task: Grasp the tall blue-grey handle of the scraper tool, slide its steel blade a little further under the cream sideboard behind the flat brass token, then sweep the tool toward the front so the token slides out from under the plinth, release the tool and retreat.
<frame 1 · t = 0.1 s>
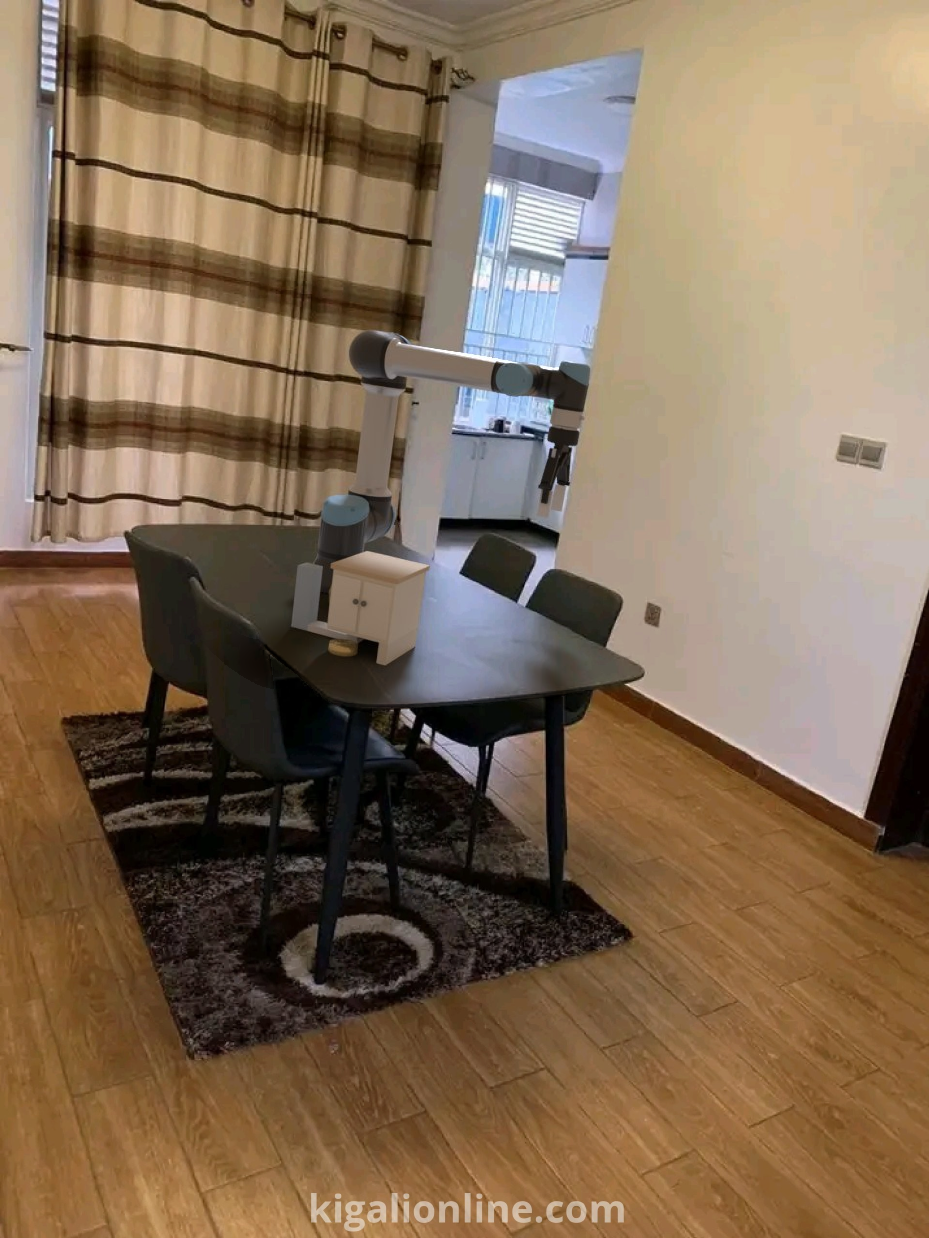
hand: (549, 513, 232), 28 cm above the table, fingers open, 13 cm apart
decorative item: (346, 611, 224), on the table
cabinet: (371, 647, 200), on the table
tool: (303, 626, 207), on the table
token: (342, 652, 195), on the table
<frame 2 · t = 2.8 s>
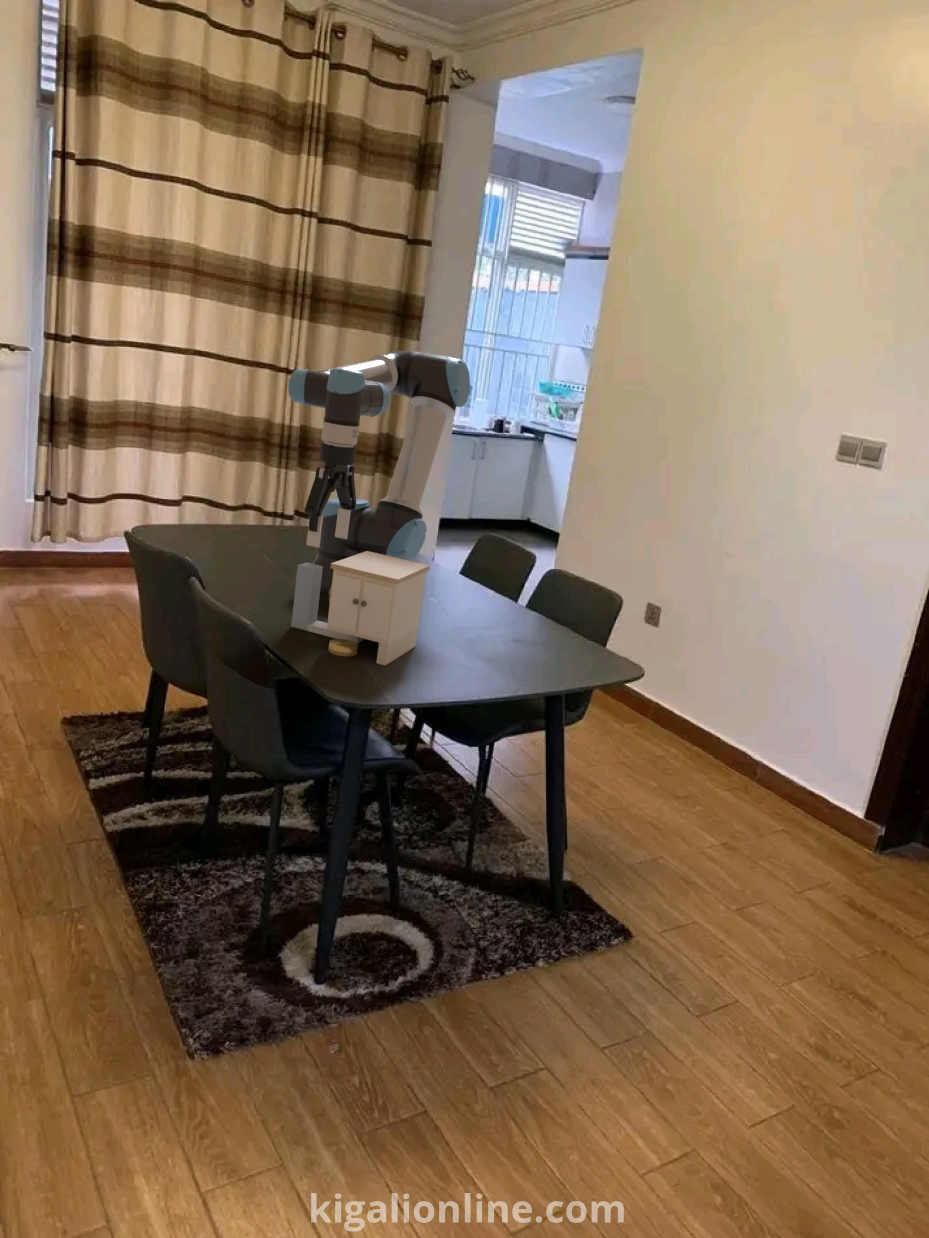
hand: (327, 542, 203), 19 cm above the table, fingers open, 13 cm apart
nothing on the table moved.
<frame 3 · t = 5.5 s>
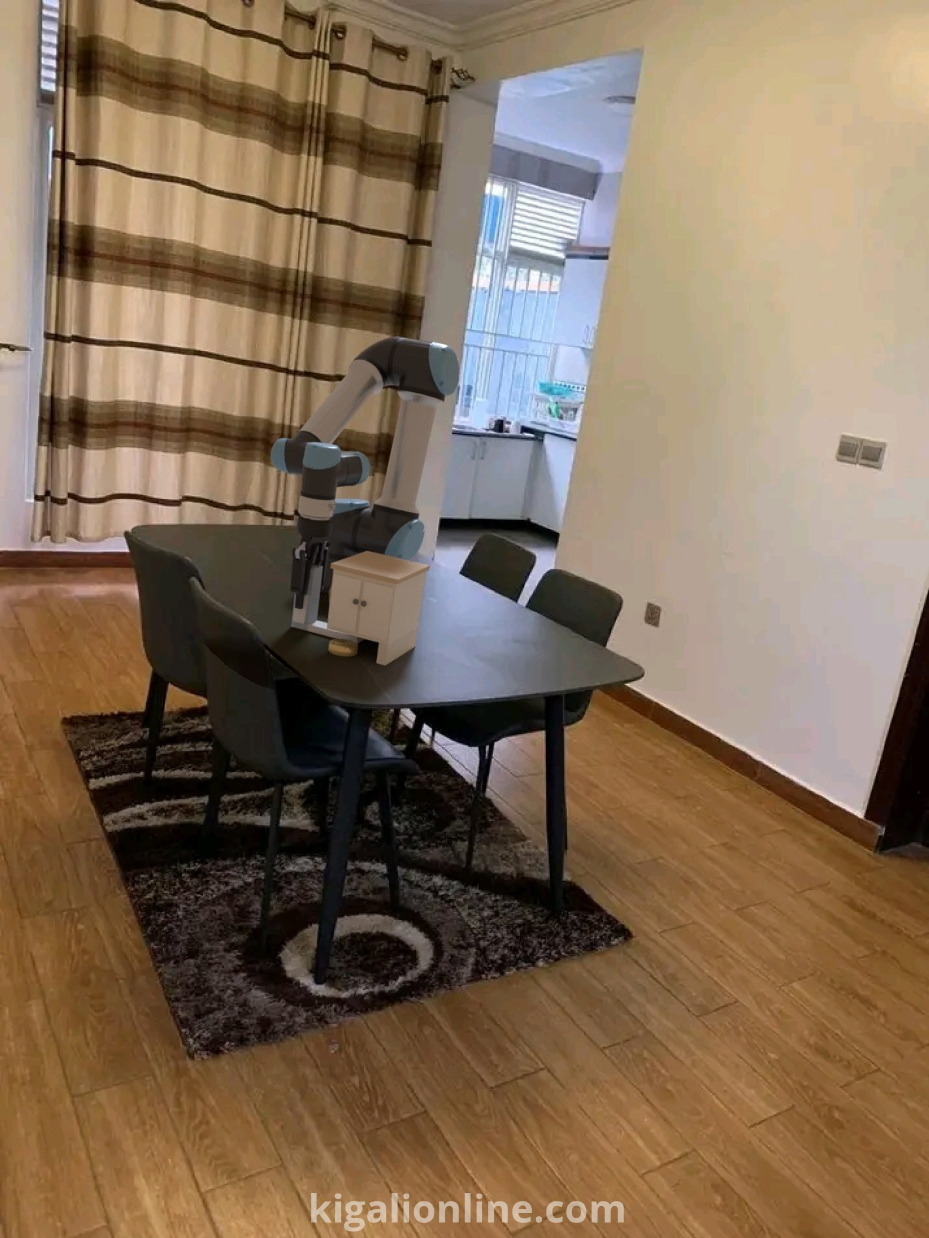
hand: (304, 619, 206), 2 cm above the table, fingers closed on tool, 4 cm apart
tool: (303, 626, 207), on the table, touching gripper
everything else where it was.
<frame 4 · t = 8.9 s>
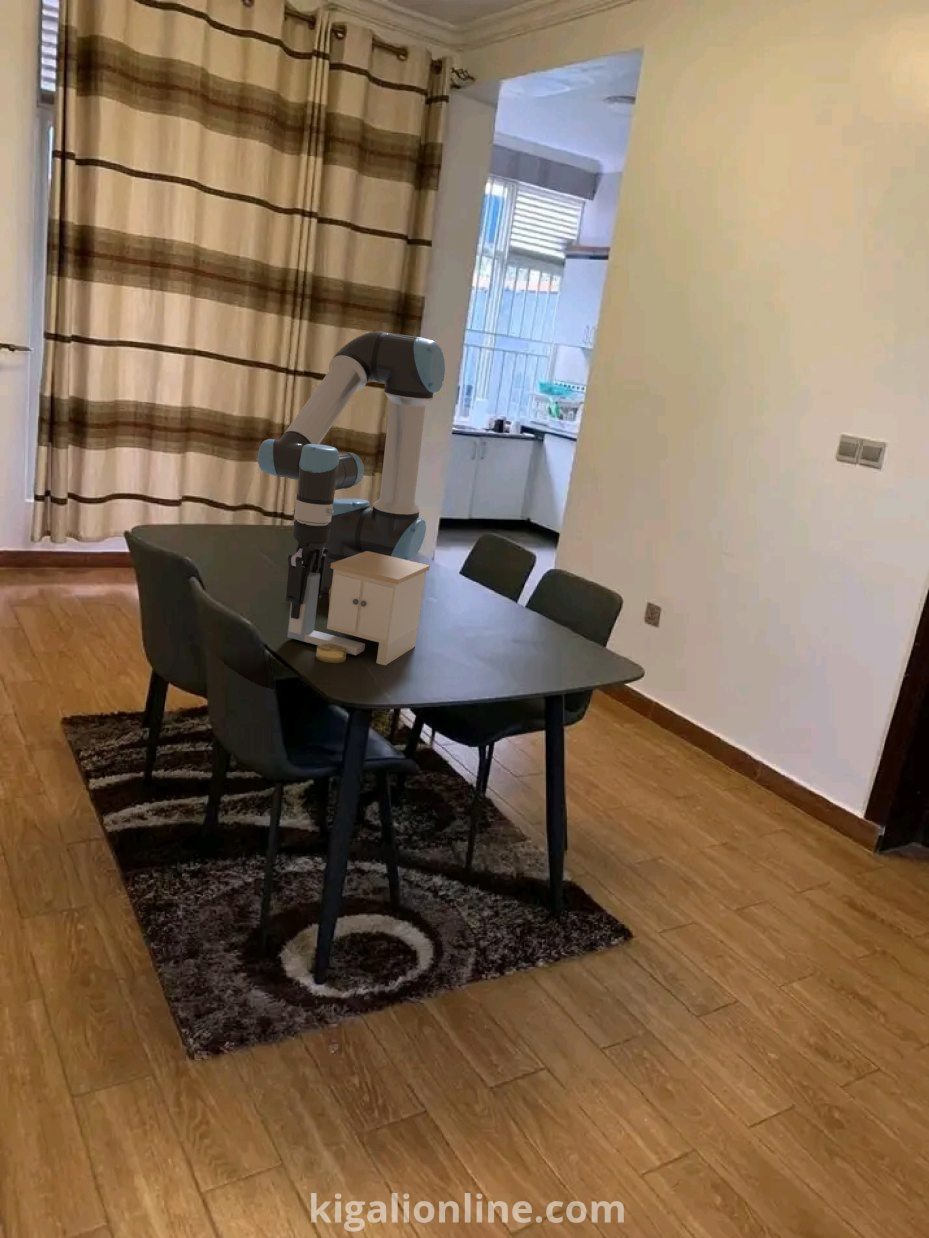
hand: (301, 629, 197), 2 cm above the table, fingers closed on tool, 4 cm apart
tool: (300, 637, 198), point 1 cm above the table, touching gripper, token
token: (330, 658, 190), on the table, touching tool
everything else where it was.
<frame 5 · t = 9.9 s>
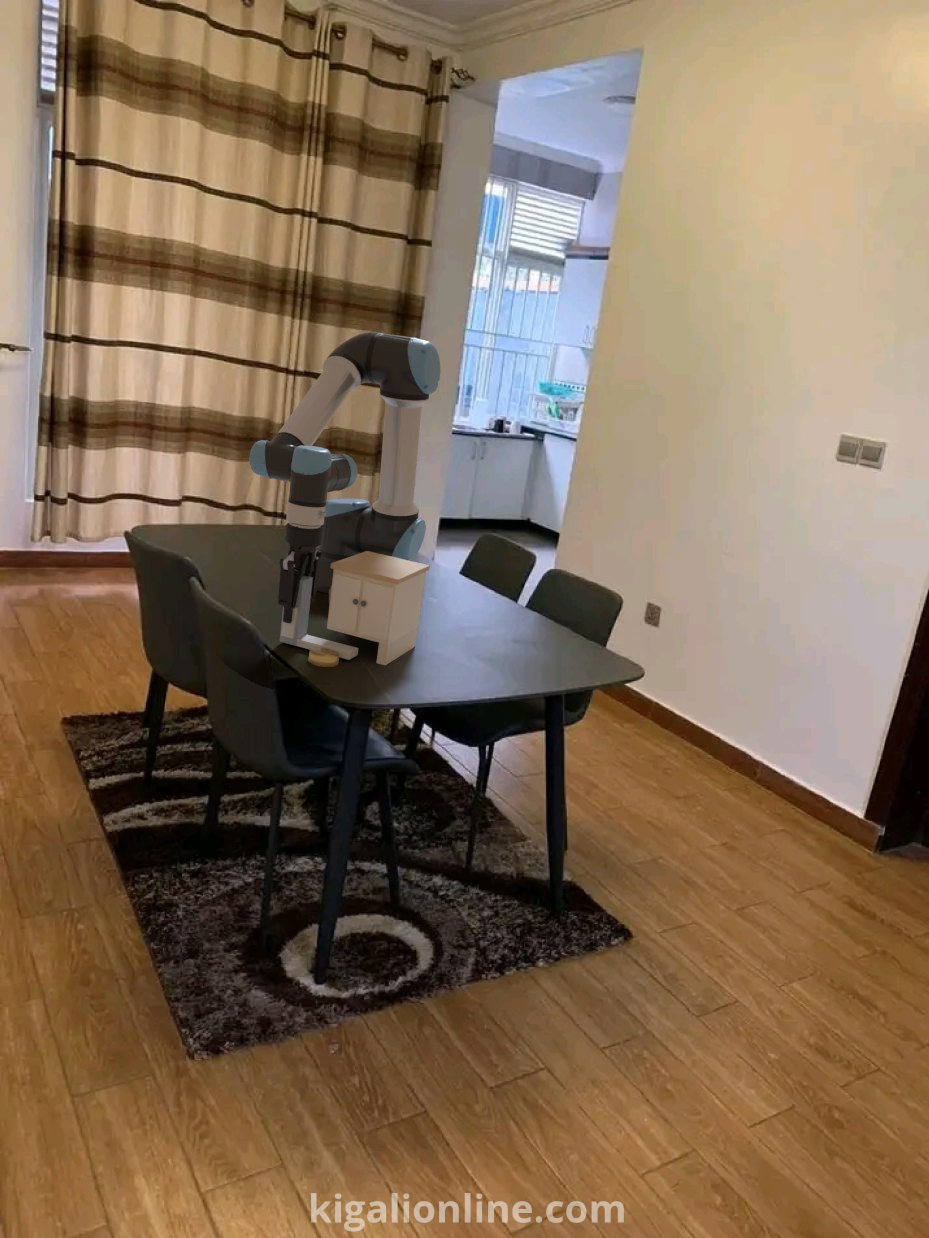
hand: (293, 633, 194), 2 cm above the table, fingers closed on tool, 4 cm apart
tool: (292, 641, 195), point 1 cm above the table, touching gripper
token: (323, 662, 188), on the table
everything else where it was.
when the fingers open (2 cm above the table, at t = 10.9 s): tool stays where it is, on the table.
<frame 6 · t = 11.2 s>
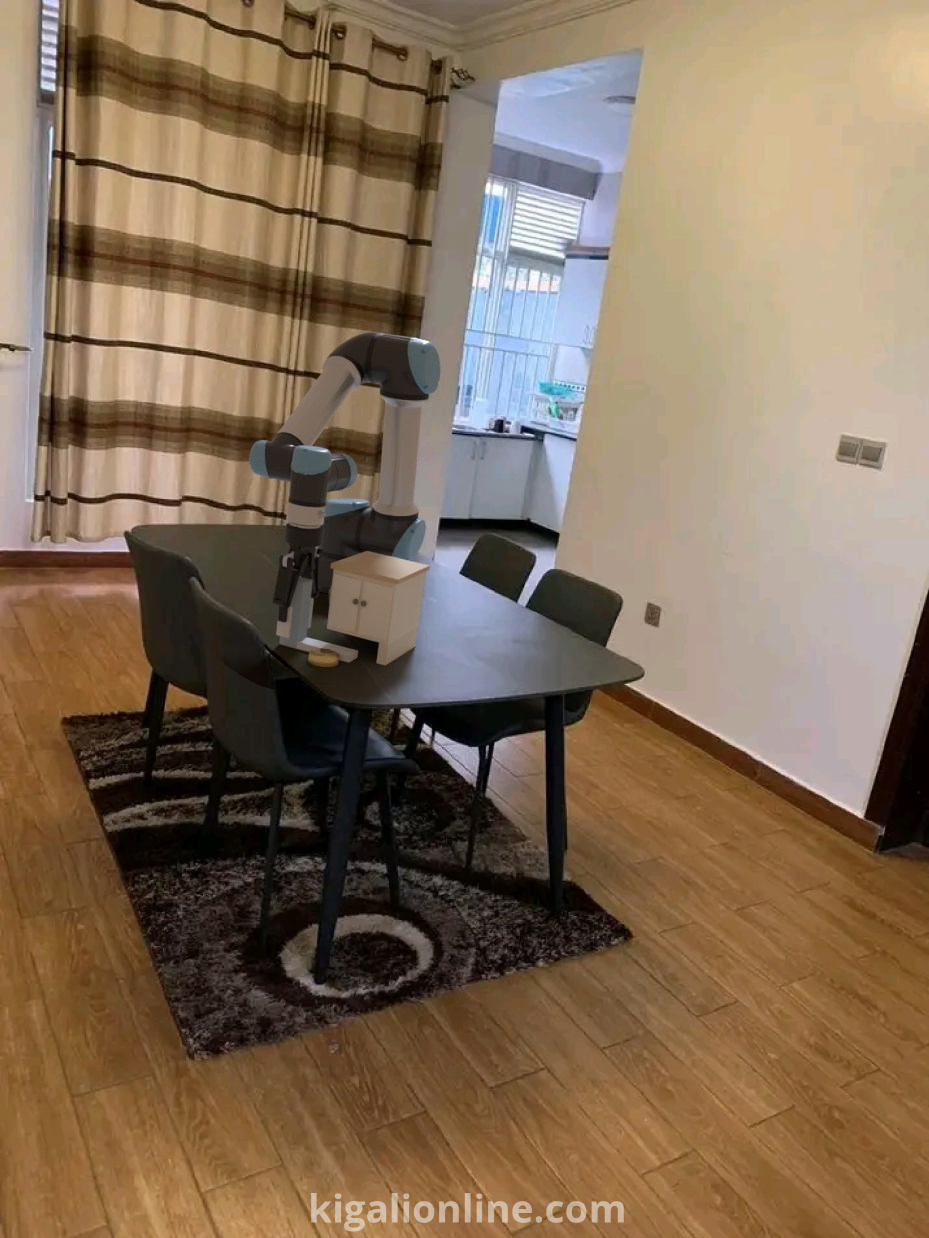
hand: (293, 631, 194), 3 cm above the table, fingers open, 8 cm apart
tool: (292, 644, 195), on the table
everything else where it was.
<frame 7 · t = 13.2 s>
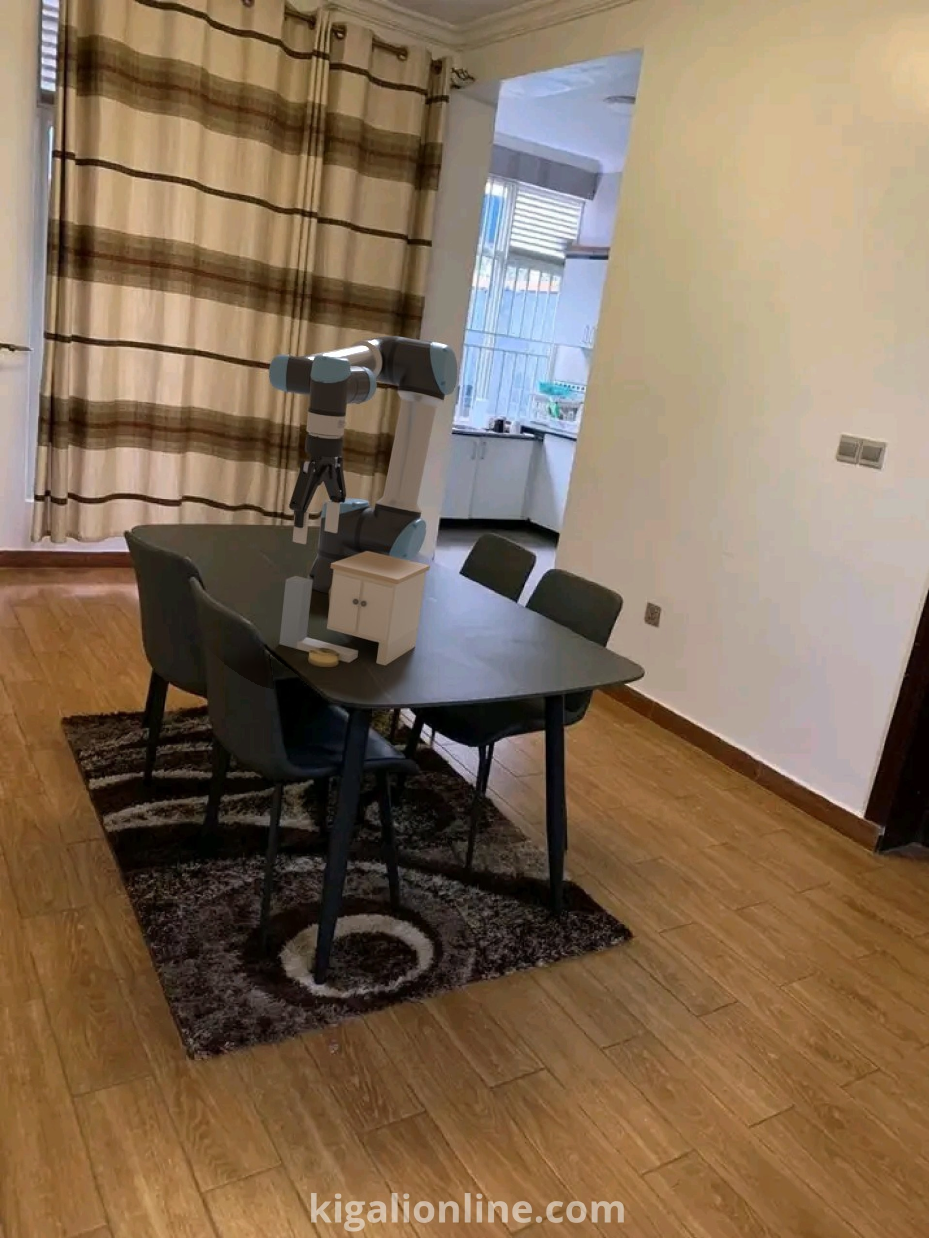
hand: (315, 537, 195), 22 cm above the table, fingers open, 13 cm apart
nothing on the table moved.
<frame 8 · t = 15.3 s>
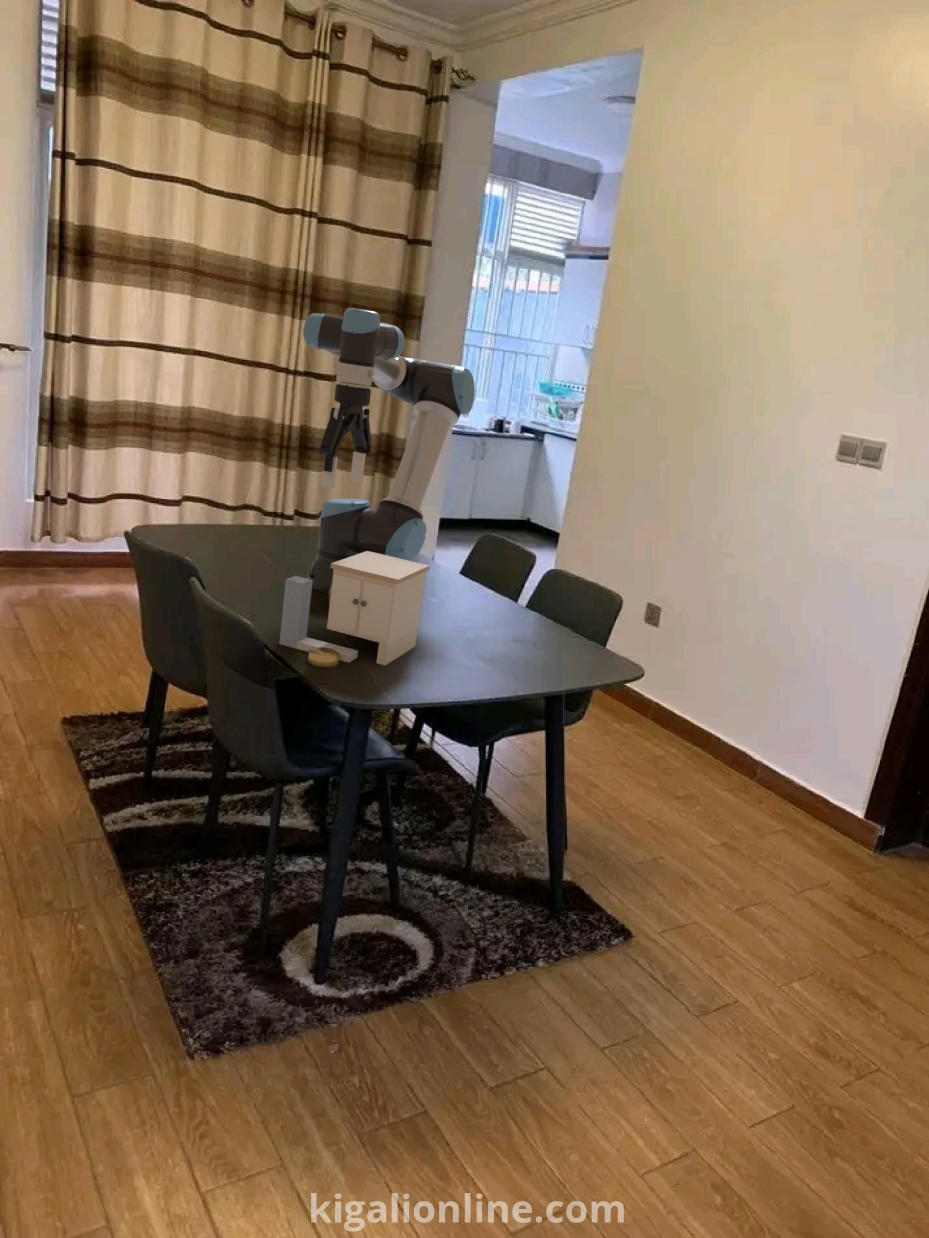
hand: (342, 484, 204), 32 cm above the table, fingers open, 13 cm apart
nothing on the table moved.
at the end: token inside the target area (3.4 cm from its centre), on the table; the gripper is holding nothing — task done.
